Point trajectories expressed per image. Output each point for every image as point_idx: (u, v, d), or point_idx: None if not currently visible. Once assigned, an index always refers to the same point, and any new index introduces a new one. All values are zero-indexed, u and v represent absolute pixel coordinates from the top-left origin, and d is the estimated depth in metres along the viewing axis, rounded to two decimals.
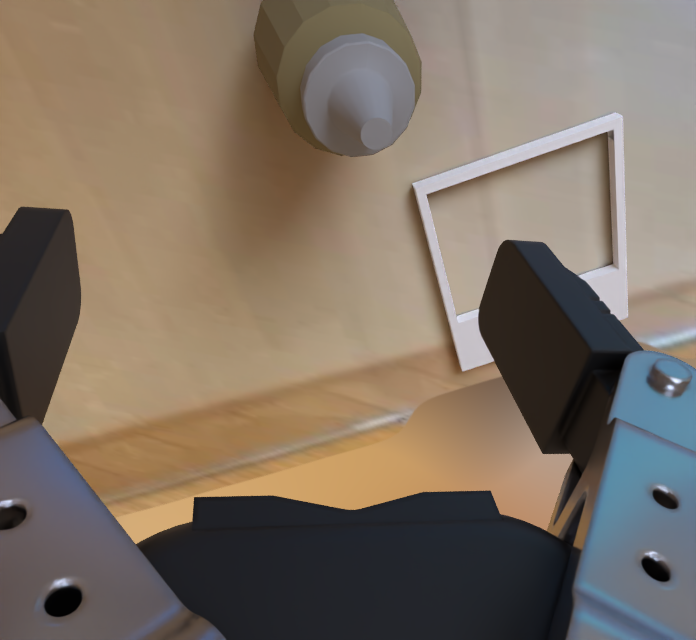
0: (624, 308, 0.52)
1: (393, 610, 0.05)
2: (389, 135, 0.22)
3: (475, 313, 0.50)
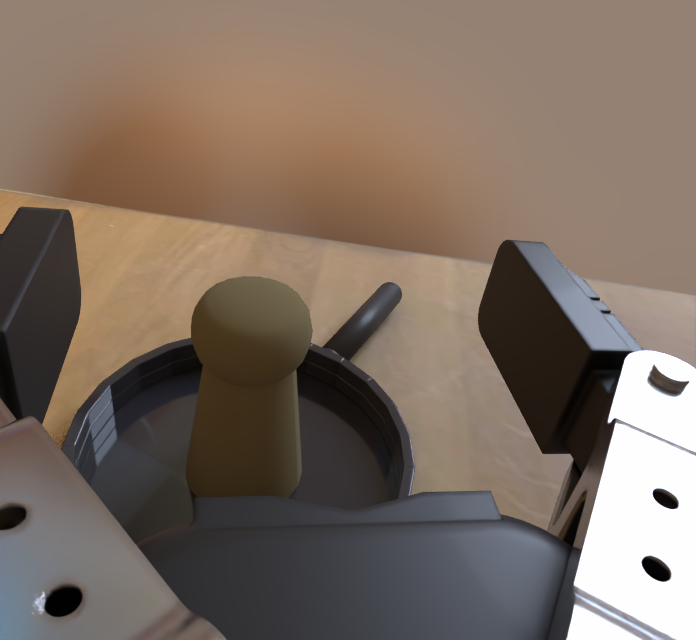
0: None
1: (393, 610, 0.05)
2: None
3: None
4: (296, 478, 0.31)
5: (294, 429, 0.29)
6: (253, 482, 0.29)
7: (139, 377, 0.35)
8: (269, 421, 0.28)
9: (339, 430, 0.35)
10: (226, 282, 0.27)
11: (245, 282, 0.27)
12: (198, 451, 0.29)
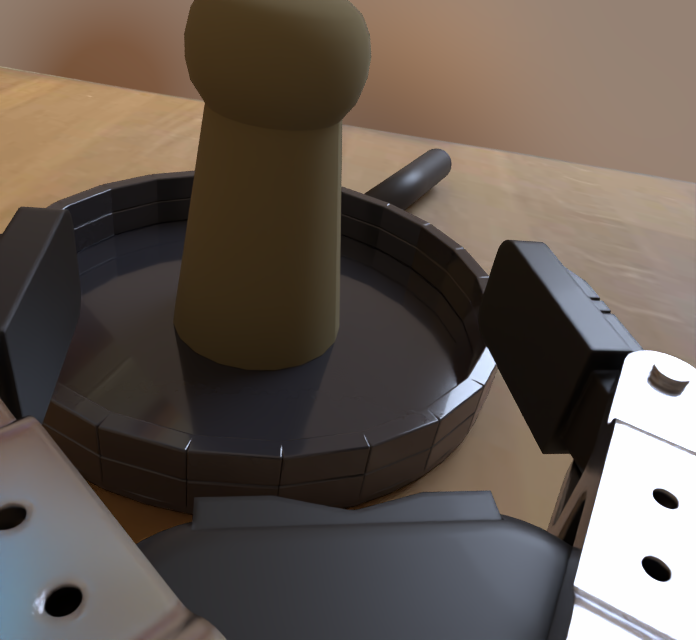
0: None
1: (393, 610, 0.05)
2: None
3: None
4: (333, 328, 0.22)
5: (335, 238, 0.20)
6: (274, 312, 0.19)
7: (112, 211, 0.25)
8: (302, 203, 0.18)
9: (386, 288, 0.26)
10: None
11: None
12: (192, 266, 0.20)
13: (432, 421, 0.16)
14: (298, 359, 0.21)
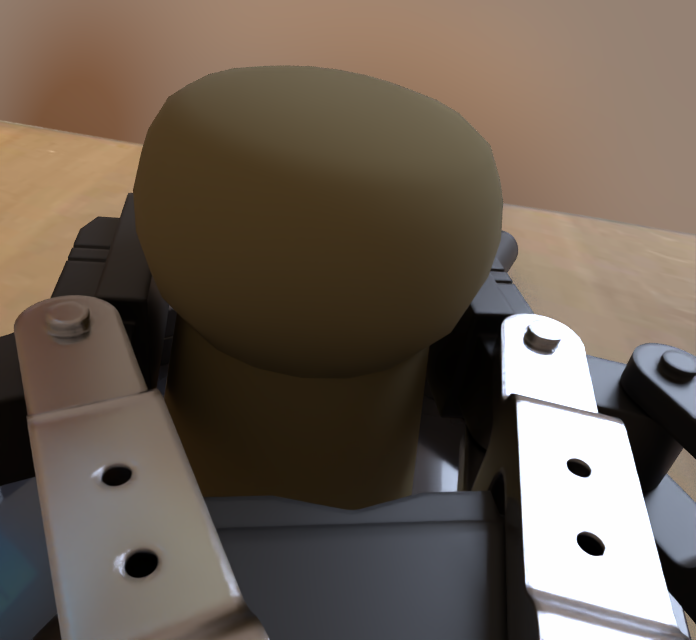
0: None
1: (393, 610, 0.05)
2: None
3: None
4: None
5: None
6: None
7: None
8: (362, 483, 0.10)
9: None
10: (246, 67, 0.09)
11: (303, 67, 0.09)
12: None
13: None
14: None
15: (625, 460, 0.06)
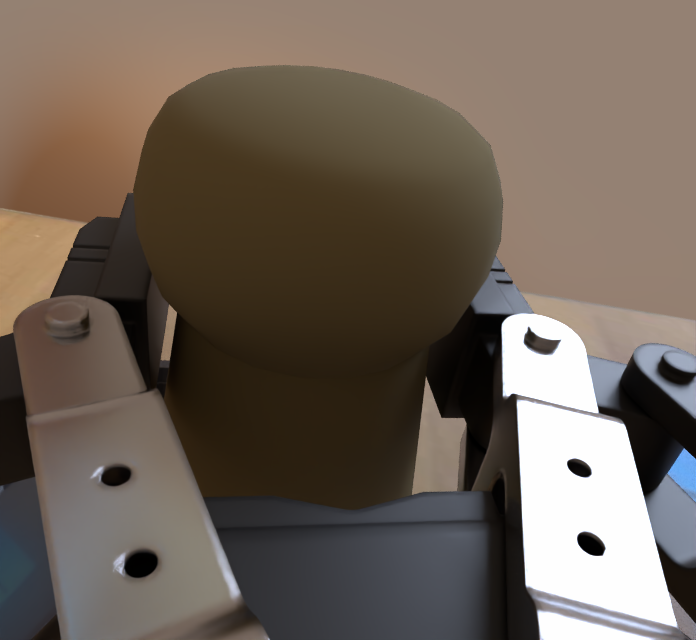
0: None
1: (393, 610, 0.05)
2: None
3: None
4: None
5: None
6: None
7: None
8: (362, 483, 0.10)
9: None
10: (247, 67, 0.09)
11: (303, 67, 0.09)
12: None
13: None
14: None
15: (625, 460, 0.06)
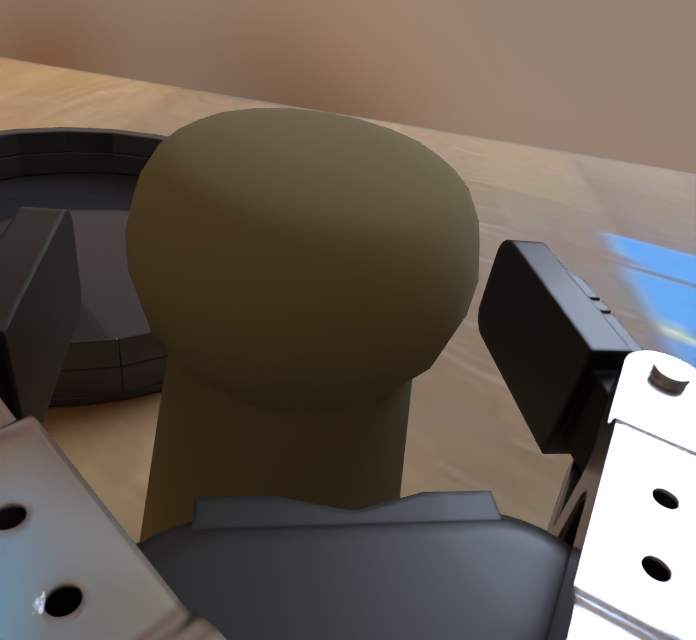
0: None
1: (393, 610, 0.05)
2: None
3: None
4: None
5: None
6: None
7: None
8: None
9: None
10: (236, 111, 0.09)
11: (290, 111, 0.09)
12: None
13: None
14: None
15: None
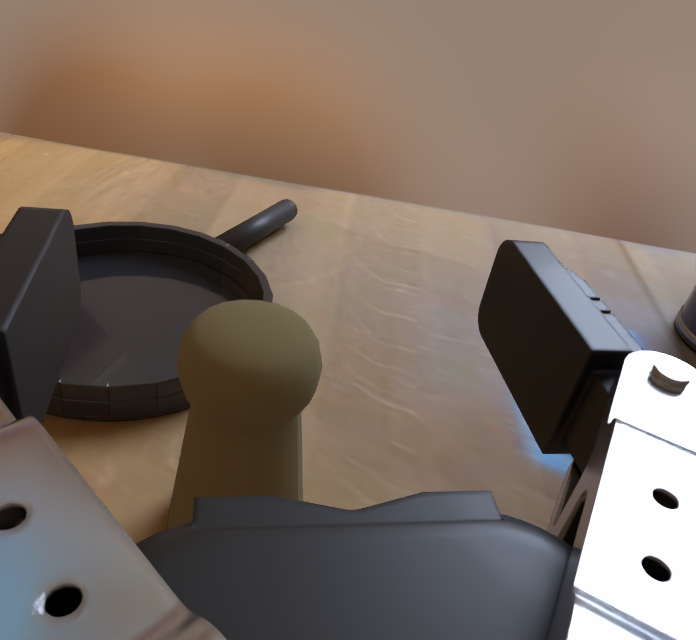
0: None
1: (393, 610, 0.05)
2: None
3: None
4: None
5: (296, 480, 0.25)
6: None
7: None
8: (268, 472, 0.23)
9: (218, 299, 0.41)
10: (221, 306, 0.22)
11: (243, 306, 0.22)
12: (182, 504, 0.25)
13: None
14: None
15: None
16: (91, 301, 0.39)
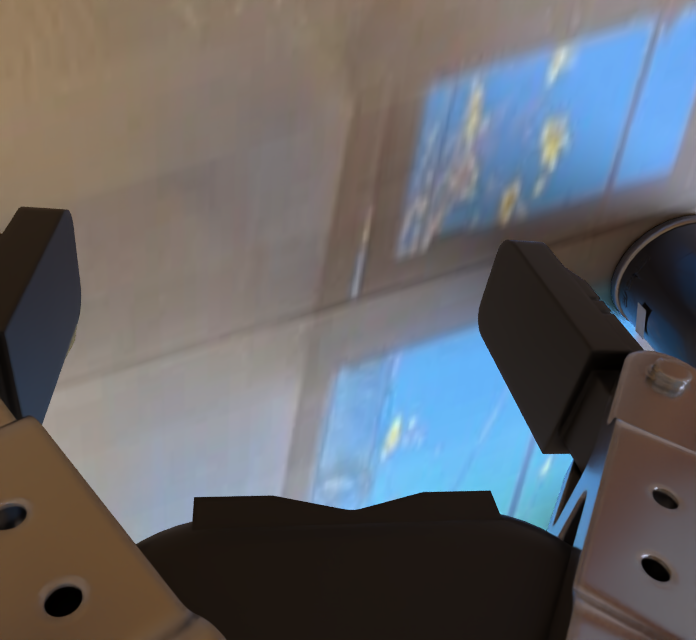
0: None
1: (393, 610, 0.05)
2: None
3: None
4: None
5: None
6: None
7: None
8: None
9: None
10: None
11: None
12: None
13: None
14: None
15: None
16: None
